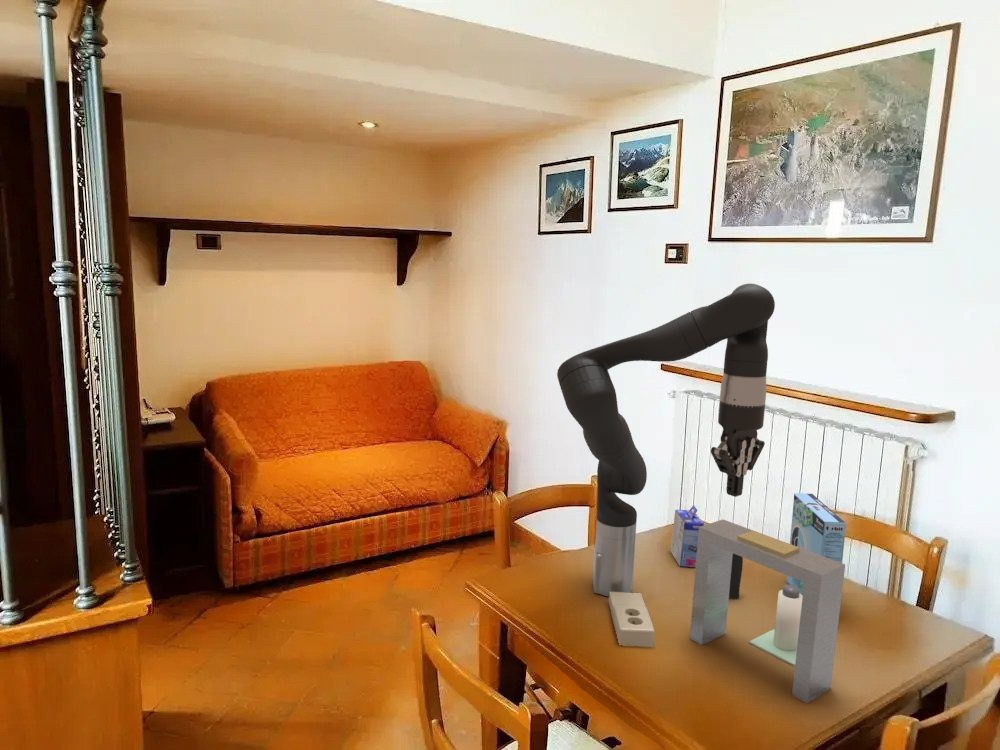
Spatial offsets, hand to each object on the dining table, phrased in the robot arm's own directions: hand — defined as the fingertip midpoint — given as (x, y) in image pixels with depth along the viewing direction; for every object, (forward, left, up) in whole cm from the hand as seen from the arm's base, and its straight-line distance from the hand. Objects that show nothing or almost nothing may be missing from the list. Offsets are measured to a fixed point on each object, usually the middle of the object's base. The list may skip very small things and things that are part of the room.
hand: (734, 494), depth 125 cm
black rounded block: (+10, +36, -37) cm, 53 cm away
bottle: (+17, +14, -36) cm, 43 cm away
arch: (+9, +8, -37) cm, 39 cm away
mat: (+17, +14, -37) cm, 43 cm away
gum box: (+30, +36, -37) cm, 60 cm away
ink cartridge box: (+5, +55, -37) cm, 67 cm away
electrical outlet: (-14, +20, -37) cm, 45 cm away
